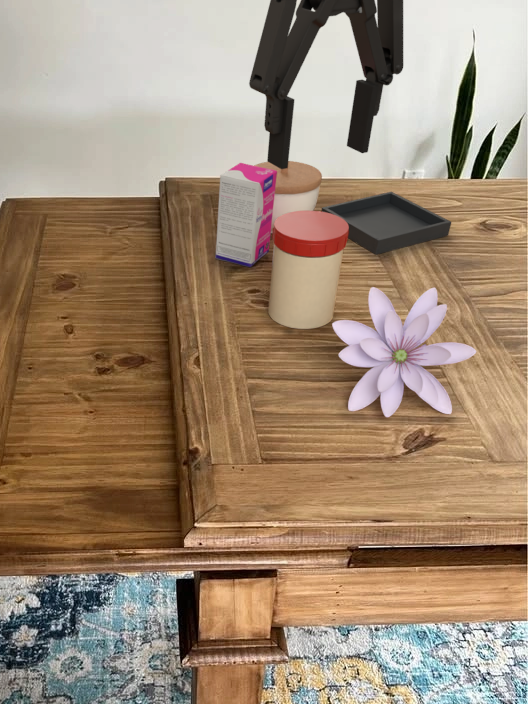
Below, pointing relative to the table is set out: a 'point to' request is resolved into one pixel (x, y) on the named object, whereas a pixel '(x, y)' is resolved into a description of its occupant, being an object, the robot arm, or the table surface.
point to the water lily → (398, 353)
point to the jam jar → (303, 289)
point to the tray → (389, 222)
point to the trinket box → (294, 188)
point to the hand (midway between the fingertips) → (318, 156)
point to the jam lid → (310, 233)
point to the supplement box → (245, 214)
